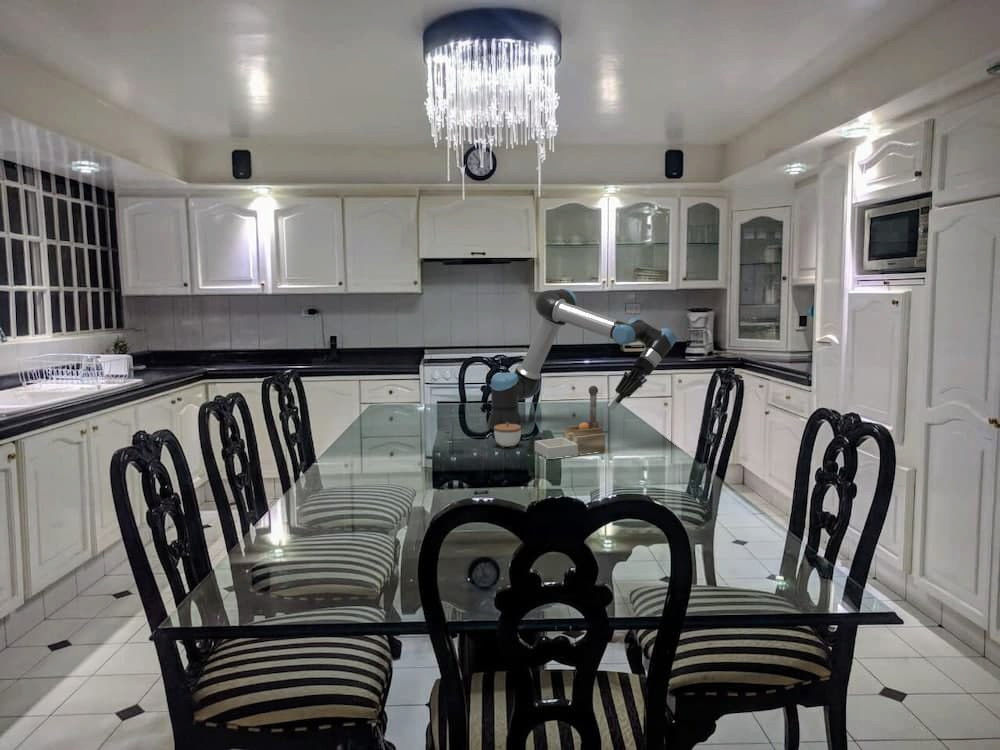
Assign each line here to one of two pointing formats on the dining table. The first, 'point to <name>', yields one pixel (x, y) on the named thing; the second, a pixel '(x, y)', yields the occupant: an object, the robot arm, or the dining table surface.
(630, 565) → the dining table surface
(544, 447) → the tray
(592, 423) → the plunger
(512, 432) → the lidded jar
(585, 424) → the ball
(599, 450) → the launcher
